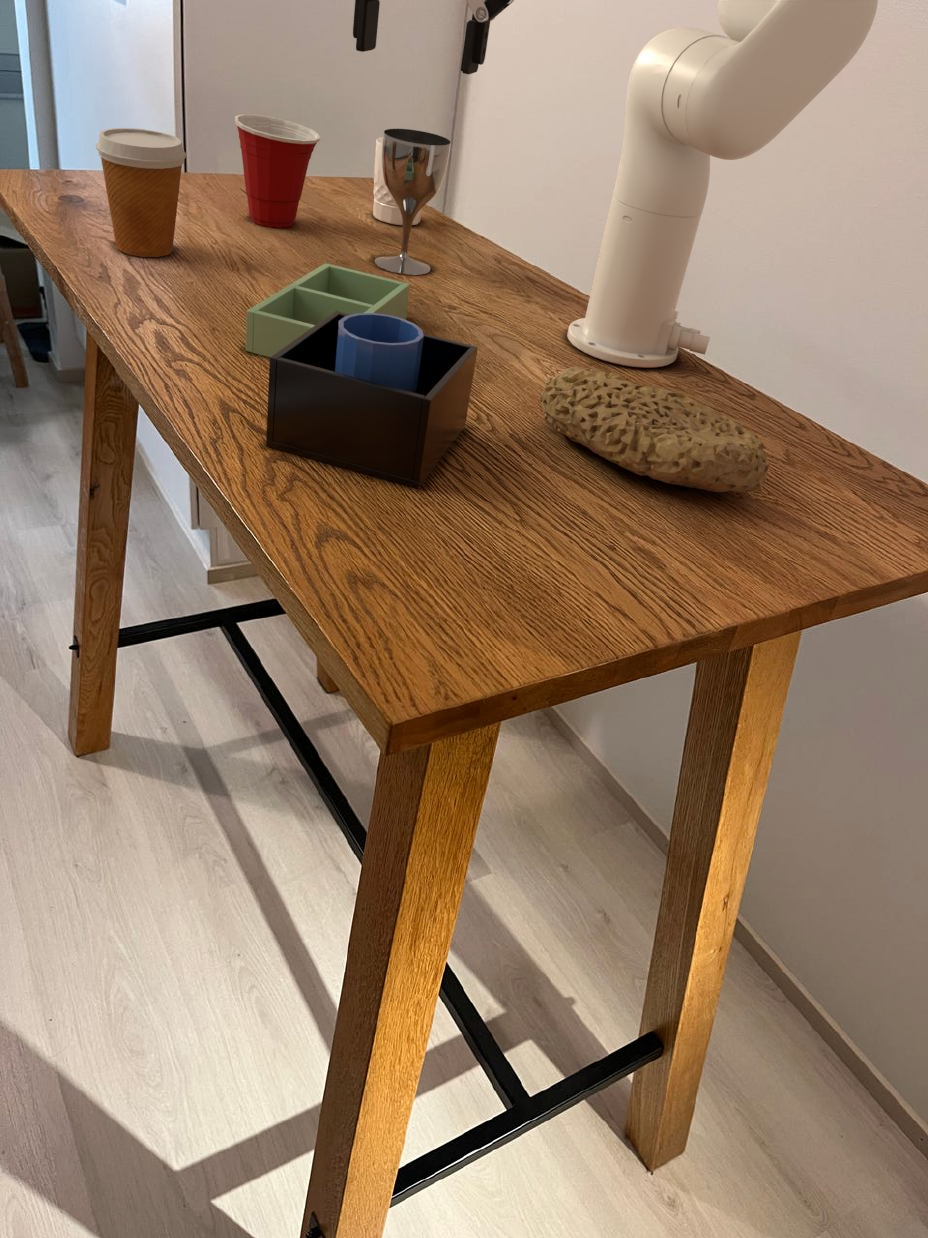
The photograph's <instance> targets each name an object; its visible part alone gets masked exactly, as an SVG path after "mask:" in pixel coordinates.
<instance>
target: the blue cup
mask: <svg viewBox="0 0 928 1238" xmlns="http://www.w3.org/2000/svg"><path fill="white" fill-rule="evenodd" d="M423 333H424V331H423V329H422V328H420V326H419V325H417V324H415V323H414V322H411V321H409V320H407V319H406V320H405V319H402V318H398V317H395V316H391V315H385V314H376V313H357V314H352V315H348V316H345V317H343V318H342V319H341V320H339V324H338V336H337V348H336V360H335V372H337V373H341V374H345V375H349V376H352V377H356V378H360V379H364V380H367V381H371V382H375V383H379V384H382V385H386V386H390V387H394V388H398V389H401V390H405V391H409V392H413V393H416V391H417V383H418V375H419V368H420V360H421V353H422V345H423V338H424V336H423Z"/></svg>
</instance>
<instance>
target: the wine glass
mask: <svg viewBox="0 0 928 1238" xmlns="http://www.w3.org/2000/svg"><path fill="white" fill-rule="evenodd" d="M382 137H383V146H382V168H383V177H384V181H385V184H386V186H387V189H388V190H389V192H390V193H391V195H392V197H393V198H394V200H395V202H396V203H397V205H398V207H399V209H400V212H401V215H402V221H403V225H402V239H401V249H400V253H399V254H398V255H381V256H379V257H378V256H377V257H376V258H375V259H374V261H373V262H374V264H375V265H376V266H377V267H378V268H380V269H382V270H385V271H387V272H392V273H395V274H399V275H406V276H407V275H408V276H409V275H410V276H419V275H425V274H428V273H430V272H431V270H432V269H431V266H430V265H429V264H427V263H426V262H424V261H422V260H419V259H416V258H412V257H410V256H409V254H408V248H409V242H410V241H409V240H410V235H411V230H412V227H413V225H412V223H413V220H414V218H415V216H416V215H417V213H418V212H419V211H420V209H421V208H422V209H423V208H424V207H425V206H426V205H427V204H428V203H429V202H430V201H431V200H432V199H433V198H434V197H435V196H436V195H437V194H438V193H439V190H440V189H441V187H442V185H443V181H444V179H445V176H446V172H447V168H448V164H449V158H450V153H451V152H450V151H451V140H449V139H448V138H446V137H444V136H441V135H439V134H435V133H431V132H427V131H423V130H417V129H409V128H388V129H385V130H383V136H382Z"/></svg>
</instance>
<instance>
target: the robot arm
mask: <svg viewBox="0 0 928 1238" xmlns="http://www.w3.org/2000/svg"><path fill="white" fill-rule="evenodd" d="M514 1H515V0H466V3H467V4H468V6H469V8H470V11H471V12H472V15H471V19H469V20H468V21H467V22H466V24H465V25H466V27H465V33H464V40H463V49H462V56H461V62H460V63H461V64H460V72H462V74H463V75H464V74H465V75H472V74H475V73H477V72H478V70H479V66H481V65H484V63H485V60H486V53H487V48H488V40H489V34H490V26H491V22H492V21H493V20H495V18H496V17H497V16H499V15H500V14H501V13H502V12H503V11H504V10H506V8H508V7H509V6H510V5H511V4H512V3H514ZM878 3H879V0H718V2H717V17H718V21H719V24H720V27H721V29H722V30H723V32H724V34H726V36H724V35H721V34H717V33H714V32H710V31H707V30H704V29H700V28H695V27H687V26H683V27H674V28H669V29H667V30H664V31H662V32H660V33H659V34H657V35H655V36H654V37H653V38H651V39H650V40H649V41H648V42H647V43H645V45H644V46H643V48H642V49H641V50H640V52H639V53H638V55H637V57H636V58H635V61H634V62H633V65H632V68H631V71H630V74H629V78H628V82H627V87H626V88H627V89H626V96H625V109H624V110H625V112H624V126H623V127H624V128H623V137H622V138H623V139H622V146H621V152H620V159H619V164H618V168H617V173H616V178H615V183H614V188H613V192H612V196H611V201H610V205H609V209H608V213H607V217H606V223H605V227H604V230H603V231H604V232H603V235H602V236H603V237H602V241H601V245H600V250H599V254H598V259H597V263H596V268H595V272H594V276H593V279H592V280H593V281H592V286H591V290H590V294H589V298H588V302H587V307H586V312H585V317H582V318H579V319H575V320H574V321H572V322H570V323H569V326H568V329H567V335H566V336H567V339H568V341H569V342H570V343H571V344H572V345H573V347H575V348H576V349H578V350H579V351H581V352H582V353H584V354H587V355H589V356H591V357H593V358H596V359H598V360H601V361H604V362H608V363H612V364H616V365H620V366H624V367H625V366H626V367H632V368H644V369H645V368H646V369H647V368H649V369H650V368H653V369H654V368H661V367H665V366H668V365H670V364H673V363H674V362H675V361H676V360H677V357H678V353H679V348H681V349H684V350H688V351H690V352H693V353H696V354H700V355H706V352H707V349H708V346H709V342H710V340H711V337H710V336H707V335H705V334H701V332H702V330H701V329H698V328H697V329H696V328H692V327H690V328H689V327H687V326H682V325H681V324H682V323H681V322H677V319H678V316H679V311H678V310H676V308H677V305H678V301H679V297H680V293H681V290H682V286H683V283H684V278H685V275H686V272H687V269H688V264H689V261H690V257H691V254H692V250H693V246H694V243H695V240H696V235H697V232H698V229H699V225H700V222H701V217H702V214H703V212H704V207H705V204H706V199H707V196H708V190H709V185H710V177H711V176H710V175H711V157H713V158H717V159H720V160H726V161H736V160H740V159H744V158H748V157H749V156H751V155H753V154H755V153H757V152H759V151H760V150H762V149H763V148H764V147H765V146H767V145H768V144H769V143H770V142H771V141H773V140H774V139H776V137H777V136H778V135H779V134H780V133H782V131H783V130H785V128H786V127H787V126H788V125H789V124H791V122H792V121H793V120H795V118H796V117H797V116H798V115H800V113H801V112H802V111H803V110H804V109H805V108H806V107H807V106H808V105H809V104H810V103H811V102H812V101H813V100H814V99H815V98H817V96H818V95H819V94H820V93H821V92H822V91H823V90H824V89H825V88H826V87H827V86H828V85H829V84H830V83H831V82H832V81H833V80H834V79H835V78H836V77H837V76H839V74H840V73H841V72H842V70H843V69H845V68H846V67H847V65H848V64H849V63H850V62H851V61H852V59H853V58H854V57H855V56H856V54H857V53H858V52H859V50H860V48H861V47H862V46H863V44H864V42H865V40H866V38H867V36H868V34H869V32H870V31H871V28H872V25H873V23H874V20H875V18H876V13H877V9H878ZM380 4H381V3H380V0H354V12H353V22H352V23H353V25H352V36H353V38H354V39H356V41H355V50H356V51H357V52H360V53H364V52H368V51H369V52H370V51H373V50H375V49H376V47H377V38H378V28H379V27H378V26H379V17H380V16H379V15H380Z"/></svg>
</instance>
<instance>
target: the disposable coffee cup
mask: <svg viewBox="0 0 928 1238" xmlns="http://www.w3.org/2000/svg"><path fill="white" fill-rule="evenodd" d="M95 149H96V150H97V151H98V156H99V157H100V160H101V166H102V171H103V177H104V178H103V179H104V183H105V191H106V196H107V202H108V207H109V214H110V220H111V225H112V230H113V237H114V242H115V243H114V244H115V248H116V249H117V250H118V251H120V252H122V253H124V254H127V255H130V256H135V257H141V258H159V257H165V256H168V255H170V254H171V253H173V250H174V249H173V248H174V240H175V232H176V231H175V230H176V222H177V214H178V213H177V212H178V204H179V194H180V185H181V178H182V177H181V176H182V167H183V164H184V163H185V159H186V158H187V153H186V152H185V151H184V147H183V143H182V140H181V139H180V138H179V137H177V136H174V135H172V134H169V133H165V132H162V131H158V130H151V129H144V128H136V127H135V128H132V127H114V128H113V127H111V128H107V129H103V130H101V131H100V132H99V135H98V141H97V142H96V143H95Z"/></svg>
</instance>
